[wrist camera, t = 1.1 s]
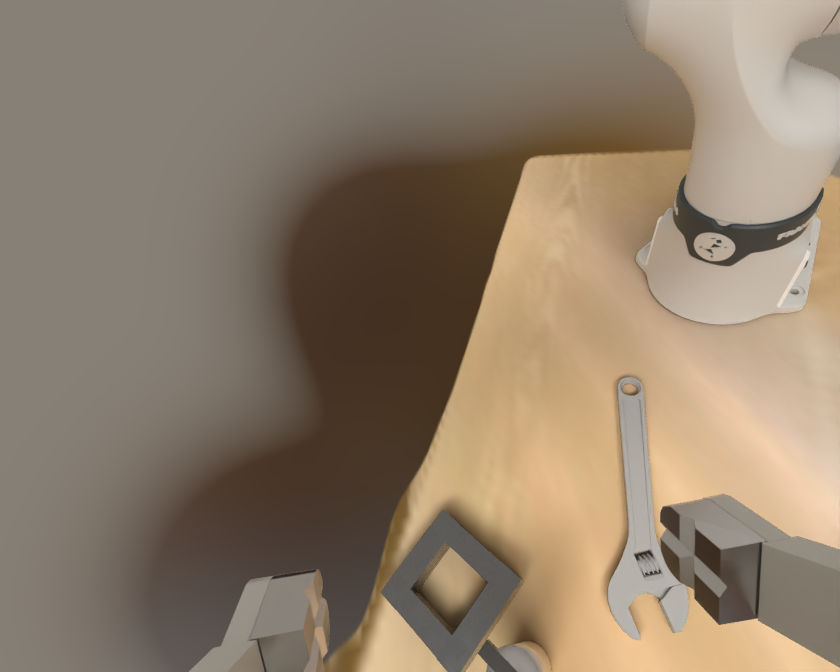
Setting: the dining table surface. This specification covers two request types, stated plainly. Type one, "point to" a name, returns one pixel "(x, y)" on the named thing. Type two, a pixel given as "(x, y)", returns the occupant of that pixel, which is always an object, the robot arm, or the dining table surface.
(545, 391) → the dining table surface
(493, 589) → the socket block
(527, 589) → the dining table surface
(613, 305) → the dining table surface
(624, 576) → the adjustable wrench
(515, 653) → the keyed metal peg
